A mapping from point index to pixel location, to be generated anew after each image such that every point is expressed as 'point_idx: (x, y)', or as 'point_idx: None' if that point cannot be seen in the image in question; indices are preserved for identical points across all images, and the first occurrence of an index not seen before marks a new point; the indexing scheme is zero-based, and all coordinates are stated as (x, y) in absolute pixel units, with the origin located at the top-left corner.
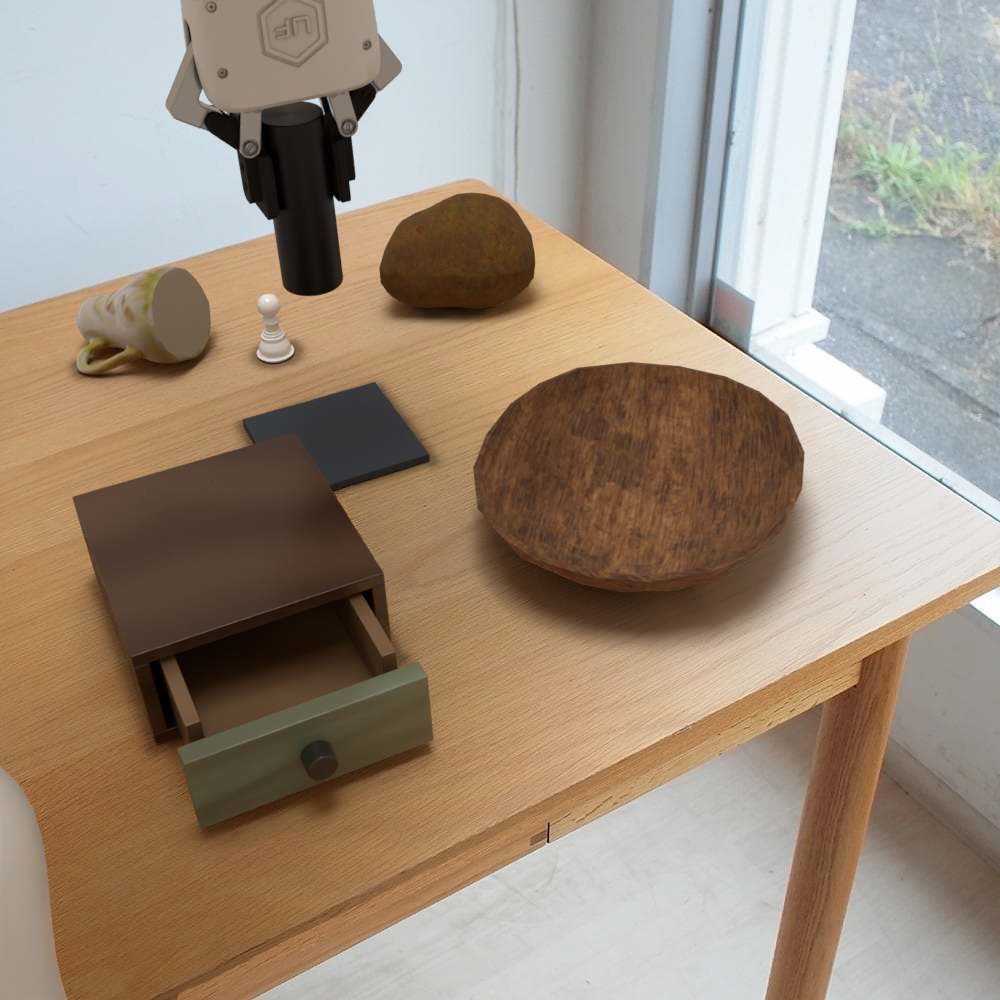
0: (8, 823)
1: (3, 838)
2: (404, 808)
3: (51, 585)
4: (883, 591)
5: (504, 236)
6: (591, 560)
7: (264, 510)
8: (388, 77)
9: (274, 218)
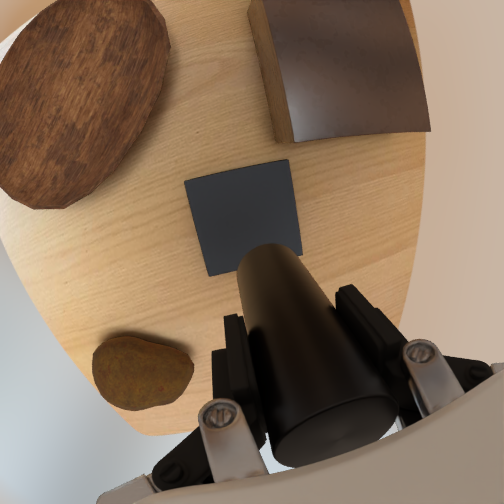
0: None
1: None
2: None
3: (410, 138)
4: (9, 46)
5: (104, 369)
6: (113, 52)
7: (328, 59)
8: (124, 493)
9: (343, 286)
